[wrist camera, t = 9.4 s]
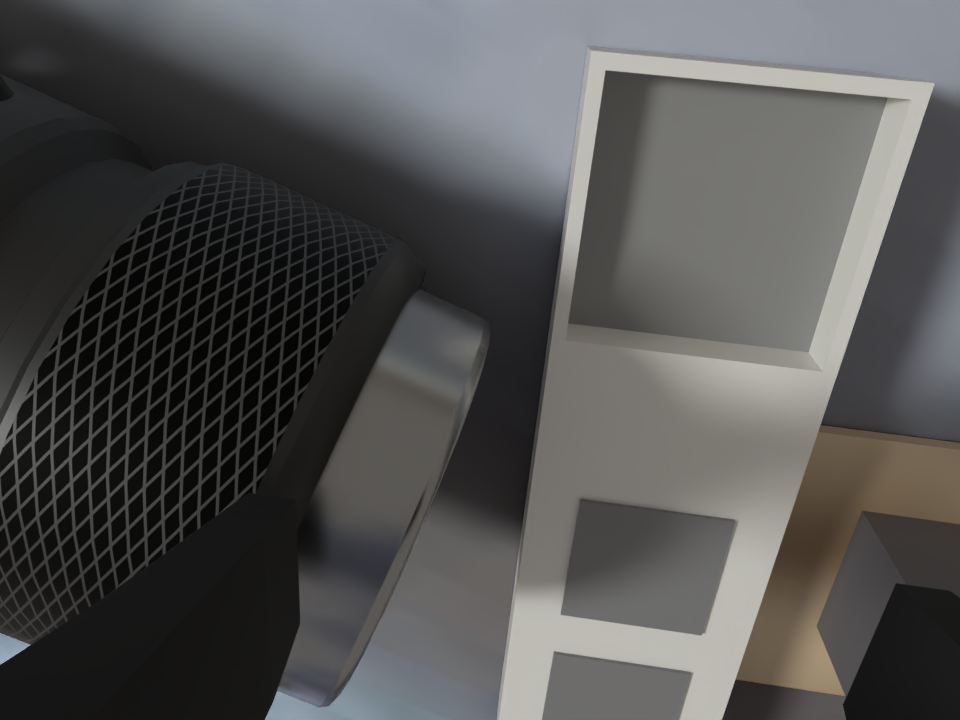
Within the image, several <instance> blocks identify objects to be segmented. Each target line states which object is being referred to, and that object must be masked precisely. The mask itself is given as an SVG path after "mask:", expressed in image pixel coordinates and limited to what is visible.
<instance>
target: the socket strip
mask: <svg viewBox="0 0 960 720" xmlns="http://www.w3.org/2000/svg"><path fill="white" fill-rule="evenodd" d="M934 84H935V83H930V82H924V81H918V80H911V79H905V78H899V77H893V76H887V75H881V74H874V73H867V72H856V71H846V70H835V69H825V68H814V67H803V66H793V65H782V64H772V63H761V62H751V61H740V60H729V59H719V58H708V57H698V56H687V55H677V54H666V53H656V52H645V51H634V50H624V49H613V48H603V47H592V46H588V47H587V54H586V61H585V69H584V76H583V83H582V91H581V98H580V105H579V113H578V120H577V127H576V135H575V142H574V150H573V157H572V164H571V172H570V179H569V186H568V194H567V201H566V208H565V216H564V223H563V230H562V238H561V245H560V252H559V260H558V267H557V274H556V282H555V289H554V297H553V304H552V311H551V319H550V326H549V333H548V341H547V348H546V355H545V363H544V370H543V377H542V385H541V392H540V399H539V407H538V414H537V421H536V429H535V436H534V444H533V451H532V458H531V466H530V473H529V480H528V488H527V495H526V502H525V510H524V517H523V524H522V532H521V539H520V546H519V554H518V561H517V569H516V576H515V583H514V591H513V598H512V605H511V613H510V620H509V627H508V635H507V642H506V649H505V657H504V664H503V671H502V679H501V686H500V695H499V704H498V714H497V720H722V718H723V715H724V712H725V709H726V706H727V703H728V700H729V697H730V694H731V691H732V688H733V685H734V682H735V679H736V676H737V673H738V670H739V667H740V664H741V661H742V658H743V655H744V652H745V649H746V646H747V643H748V640H749V637H750V634H751V631H752V628H753V625H754V623H755V620H756V617H757V614H758V611H759V608H760V605H761V602H762V599H763V596H764V593H765V590H766V587H767V584H768V581H769V578H770V575H771V572H772V569H773V566H774V563H775V560H776V557H777V554H778V551H779V548H780V545H781V542H782V539H783V536H784V533H785V530H786V527H787V524H788V521H789V518H790V515H791V512H792V509H793V506H794V503H795V500H796V497H797V494H798V491H799V488H800V485H801V482H802V479H803V476H804V473H805V470H806V467H807V464H808V461H809V458H810V455H811V452H812V449H813V446H814V443H815V440H816V437H817V434H818V431H819V428H820V425H821V422H822V419H823V416H824V413H825V410H826V407H827V404H828V401H829V398H830V395H831V392H832V389H833V386H834V383H835V380H836V377H837V374H838V371H839V368H840V365H841V362H842V359H843V356H844V353H845V350H846V347H847V344H848V341H849V338H850V335H851V332H852V329H853V326H854V323H855V320H856V317H857V314H858V311H859V308H860V305H861V302H862V300H863V297H864V294H865V291H866V288H867V285H868V282H869V279H870V276H871V273H872V270H873V267H874V264H875V261H876V258H877V255H878V252H879V249H880V246H881V243H882V240H883V237H884V234H885V231H886V228H887V225H888V222H889V219H890V216H891V213H892V210H893V207H894V204H895V201H896V198H897V195H898V192H899V189H900V186H901V183H902V180H903V177H904V174H905V171H906V168H907V165H908V162H909V159H910V156H911V153H912V150H913V147H914V144H915V141H916V138H917V135H918V132H919V129H920V126H921V123H922V120H923V117H924V114H925V111H926V108H927V105H928V102H929V99H930V96H931V93H932V90H933V87H934Z"/></svg>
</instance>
